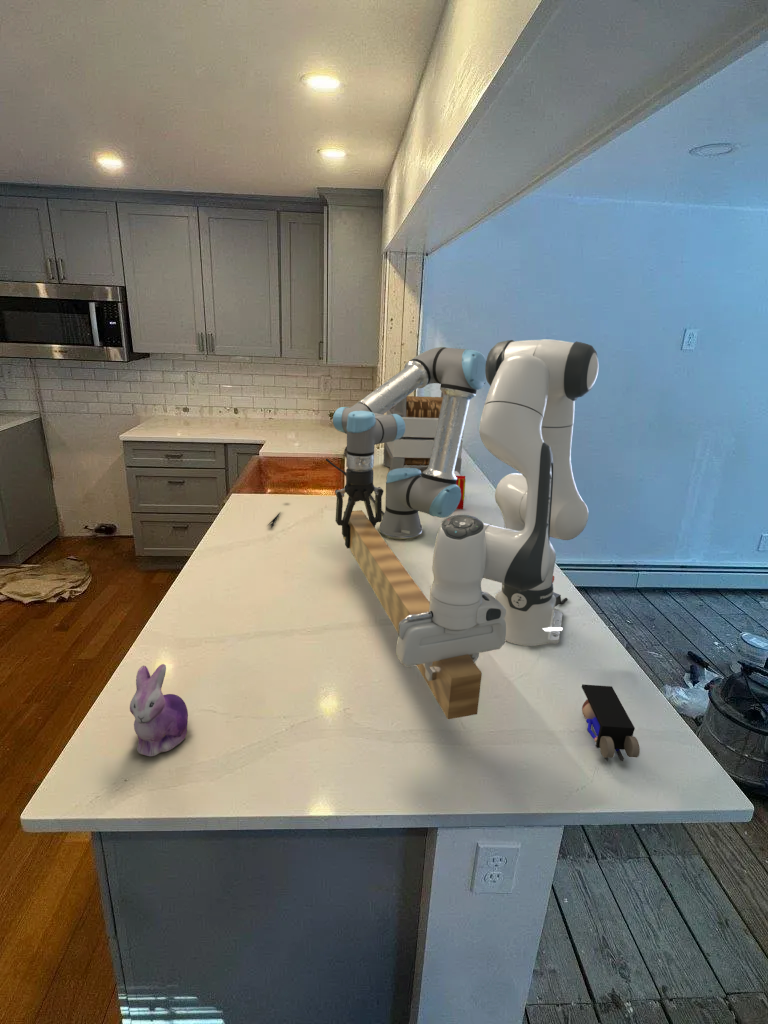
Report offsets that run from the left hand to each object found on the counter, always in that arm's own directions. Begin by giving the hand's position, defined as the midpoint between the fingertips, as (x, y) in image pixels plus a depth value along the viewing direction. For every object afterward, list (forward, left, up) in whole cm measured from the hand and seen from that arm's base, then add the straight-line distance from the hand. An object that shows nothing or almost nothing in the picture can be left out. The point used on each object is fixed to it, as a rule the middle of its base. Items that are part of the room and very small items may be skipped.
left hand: (358, 545), depth 164 cm
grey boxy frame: (-70, +93, -10) cm, 117 cm away
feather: (-56, +7, -10) cm, 58 cm away
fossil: (-117, +91, -10) cm, 149 cm away
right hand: (+61, -27, +3) cm, 67 cm away
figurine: (+32, -69, -10) cm, 77 cm away
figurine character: (+82, -5, -10) cm, 82 cm away
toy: (-35, +76, -10) cm, 84 cm away
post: (+31, -14, -1) cm, 33 cm away
